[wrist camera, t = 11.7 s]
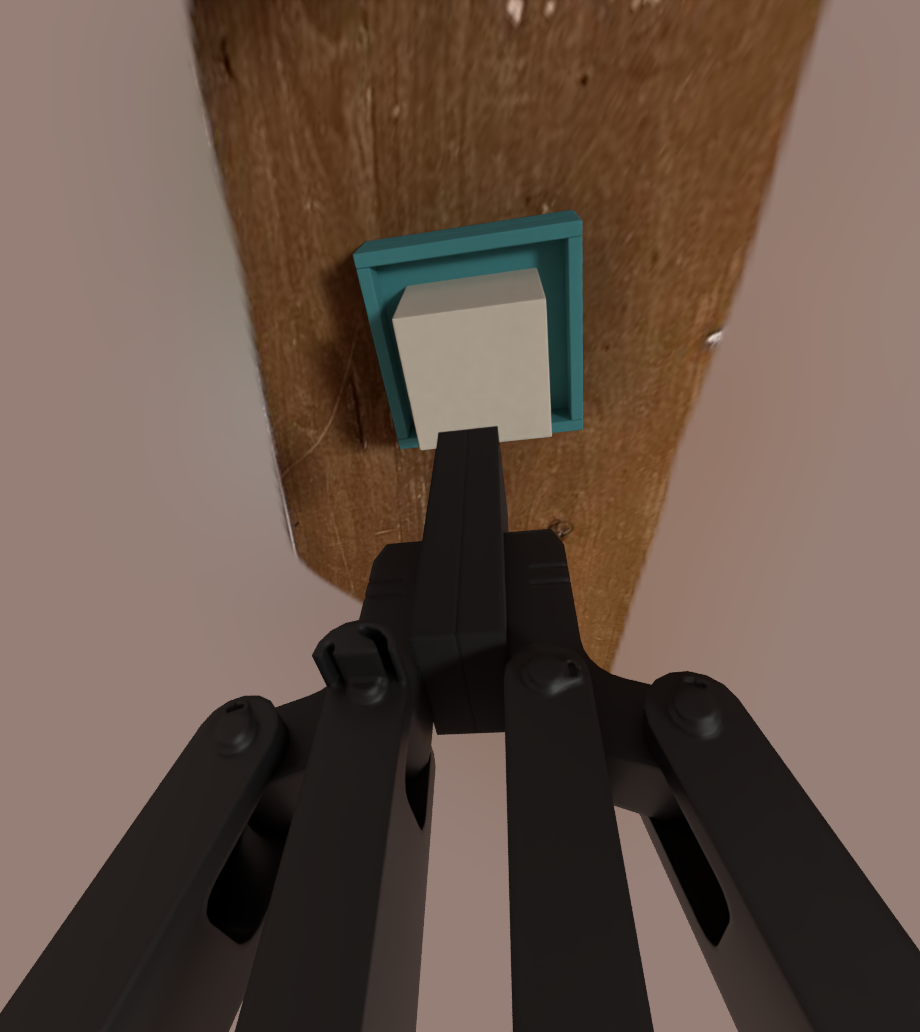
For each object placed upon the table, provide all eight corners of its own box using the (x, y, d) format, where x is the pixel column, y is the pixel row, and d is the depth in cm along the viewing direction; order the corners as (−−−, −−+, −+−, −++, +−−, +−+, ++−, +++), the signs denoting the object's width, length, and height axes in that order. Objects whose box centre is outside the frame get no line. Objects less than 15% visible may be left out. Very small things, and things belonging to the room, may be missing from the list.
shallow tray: (363, 241, 21) (352, 254, 19) (573, 209, 20) (582, 219, 18) (405, 425, 25) (399, 449, 24) (576, 406, 24) (583, 430, 23)
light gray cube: (405, 285, 21) (391, 319, 17) (536, 266, 20) (546, 298, 17) (428, 404, 24) (419, 450, 20) (543, 391, 23) (552, 437, 20)
